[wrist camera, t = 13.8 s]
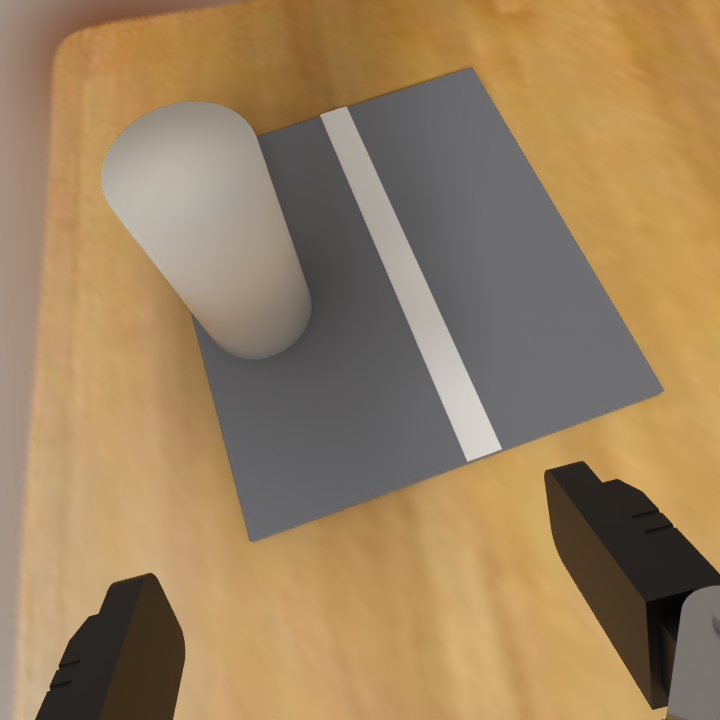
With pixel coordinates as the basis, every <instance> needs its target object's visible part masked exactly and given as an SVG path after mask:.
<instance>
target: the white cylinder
mask: <svg viewBox="0 0 720 720" xmlns="http://www.w3.org/2000/svg"><path fill="white" fill-rule="evenodd" d="M101 184H102V190H103V194H104V196H105V199H106V201H107V203H108V204H109V206H110V207H111V209H112V210H113V211H114V213H115V214H116V215H117V216H118V218H119V219H120V220H121V222H122V223H123V224H124V226H125V227H126V228H127V229H128V231H129V232H130V233H131V235H132V236H133V237H134V238H135V240H136V241H137V242H138V244H139V245H140V246H141V248H142V249H143V250H144V251H145V253H146V254H147V255H148V257H149V258H150V259H151V260H152V262H153V263H154V264H155V266H156V267H157V268H158V269H159V271H160V272H161V273H162V275H163V276H164V277H165V279H166V280H167V281H168V282H169V284H170V285H171V286H172V288H173V289H174V290H175V291H176V293H177V294H178V295H179V297H180V298H181V299H182V301H183V302H184V303H185V304H186V306H187V307H188V308H189V310H190V311H191V312H192V313H193V315H194V316H195V317H196V319H197V320H198V321H199V323H200V324H201V325H202V326H203V328H204V329H205V330H206V332H207V333H208V334H209V335H210V337H211V338H212V339H213V341H214V342H215V343H216V344H217V345H218V346H219V347H220V348H221V349H222V350H224V351H225V352H227V353H229V354H231V355H233V356H236V357H239V358H244V359H263V358H268V357H271V356H274V355H276V354H279V353H281V352H283V351H284V350H286V349H288V348H289V347H290V346H292V345H293V344H294V343H295V342H296V341H297V340H298V339H299V338H300V336H301V335H302V334H303V332H304V331H305V329H306V327H307V325H308V323H309V320H310V316H311V311H312V301H311V295H310V292H309V289H308V286H307V283H306V280H305V277H304V274H303V271H302V269H301V266H300V263H299V260H298V257H297V254H296V251H295V248H294V245H293V242H292V239H291V236H290V233H289V231H288V228H287V225H286V222H285V219H284V216H283V213H282V210H281V207H280V204H279V201H278V198H277V195H276V192H275V190H274V187H273V184H272V181H271V178H270V175H269V172H268V169H267V166H266V163H265V160H264V157H263V154H262V152H261V149H260V146H259V143H258V140H257V137H256V135H255V133H254V131H253V129H252V127H251V126H250V125H249V123H248V122H247V121H246V120H245V119H244V118H243V117H242V116H241V115H239V114H238V113H236V112H235V111H233V110H231V109H229V108H227V107H225V106H222V105H219V104H215V103H211V102H203V101H187V102H179V103H174V104H170V105H166V106H163V107H160V108H158V109H155V110H153V111H151V112H149V113H147V114H145V115H143V116H142V117H140V118H138V119H137V120H135V121H134V122H133V123H132V124H130V125H129V126H128V127H127V128H126V129H125V130H124V131H123V132H122V133H121V134H120V135H119V136H118V137H117V138H116V140H115V141H114V142H113V144H112V145H111V147H110V149H109V150H108V153H107V155H106V157H105V160H104V163H103V166H102V173H101Z"/></svg>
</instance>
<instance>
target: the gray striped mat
mask: <svg viewBox="0 0 720 720" xmlns="http://www.w3.org/2000/svg"><path fill="white" fill-rule="evenodd" d="M257 140H258V143H259V146H260V149H261V152H262V154H263V157H264V160H265V163H266V166H267V169H268V172H269V175H270V178H271V181H272V184H273V187H274V190H275V192H276V195H277V198H278V201H279V204H280V207H281V210H282V213H283V216H284V219H285V222H286V225H287V228H288V231H289V233H290V236H291V239H292V242H293V245H294V248H295V251H296V254H297V257H298V260H299V263H300V266H301V269H302V271H303V274H304V277H305V280H306V283H307V286H308V289H309V292H310V295H311V301H312V311H311V316H310V320H309V323H308V325H307V327H306V329H305V331H304V332H303V334H302V335H301V336H300V338H299V339H298V340H297V341H296V342H295V343H294V344H293V345H292V346H290V347H289V348H288V349H286V350H284V351H283V352H281V353H279V354H276V355H274V356H271V357H268V358H263V359H244V358H239V357H236V356H233V355H231V354H229V353H227V352H225V351H224V350H222V349H221V348H220V347H219V346H218V345H217V344H216V343H215V342H214V341H213V339H212V338H211V337H210V335H209V334H208V333H207V332H206V330H205V329H204V328H203V326H202V325H201V324H200V323H199V321H198V320H197V319H196V317H195V316H194V315H193V313H192V312H191V314H192V318H193V322H194V326H195V330H196V334H197V338H198V342H199V346H200V349H201V353H202V357H203V361H204V365H205V369H206V373H207V377H208V381H209V384H210V388H211V392H212V396H213V400H214V404H215V408H216V412H217V416H218V419H219V423H220V427H221V431H222V435H223V439H224V443H225V447H226V451H227V454H228V458H229V462H230V466H231V470H232V474H233V478H234V482H235V486H236V489H237V493H238V497H239V501H240V505H241V509H242V513H243V517H244V521H245V524H246V528H247V532H248V536H249V540H250V541H251V542H255V541H257V540H260V539H263V538H266V537H268V536H271V535H274V534H277V533H279V532H282V531H285V530H288V529H290V528H293V527H296V526H299V525H301V524H304V523H307V522H310V521H312V520H315V519H318V518H321V517H323V516H326V515H329V514H332V513H334V512H337V511H340V510H343V509H345V508H348V507H351V506H354V505H357V504H359V503H362V502H365V501H368V500H370V499H373V498H376V497H379V496H381V495H384V494H387V493H390V492H392V491H395V490H398V489H401V488H403V487H406V486H409V485H412V484H414V483H417V482H420V481H423V480H425V479H428V478H431V477H434V476H436V475H439V474H442V473H445V472H447V471H450V470H453V469H456V468H458V467H461V466H464V465H467V464H469V463H472V462H475V461H478V460H480V459H483V458H486V457H489V456H491V455H494V454H497V453H500V452H502V451H505V450H508V449H511V448H513V447H516V446H519V445H522V444H524V443H527V442H530V441H533V440H535V439H538V438H541V437H544V436H546V435H549V434H552V433H555V432H557V431H560V430H563V429H566V428H568V427H571V426H574V425H577V424H579V423H582V422H585V421H588V420H590V419H593V418H596V417H599V416H601V415H604V414H607V413H610V412H612V411H615V410H618V409H621V408H623V407H626V406H629V405H632V404H634V403H637V402H640V401H643V400H645V399H648V398H651V397H654V396H656V395H659V394H661V393H662V392H663V391H664V389H663V387H662V385H661V384H660V382H659V380H658V379H657V377H656V375H655V374H654V372H653V370H652V369H651V367H650V365H649V364H648V362H647V360H646V359H645V357H644V355H643V354H642V352H641V350H640V349H639V347H638V345H637V343H636V342H635V340H634V338H633V337H632V335H631V333H630V332H629V330H628V328H627V327H626V325H625V323H624V322H623V320H622V318H621V317H620V315H619V313H618V312H617V310H616V308H615V306H614V305H613V303H612V301H611V300H610V298H609V296H608V295H607V293H606V291H605V290H604V288H603V286H602V285H601V283H600V281H599V280H598V278H597V276H596V275H595V273H594V271H593V269H592V268H591V266H590V264H589V263H588V261H587V259H586V258H585V256H584V254H583V253H582V251H581V249H580V248H579V246H578V244H577V243H576V241H575V239H574V238H573V236H572V234H571V233H570V231H569V229H568V227H567V226H566V224H565V222H564V221H563V219H562V217H561V216H560V214H559V212H558V211H557V209H556V207H555V206H554V204H553V202H552V201H551V199H550V197H549V196H548V194H547V192H546V190H545V189H544V187H543V185H542V184H541V182H540V180H539V179H538V177H537V175H536V174H535V172H534V170H533V169H532V167H531V165H530V164H529V162H528V160H527V159H526V157H525V155H524V153H523V152H522V150H521V148H520V147H519V145H518V143H517V142H516V140H515V138H514V137H513V135H512V133H511V132H510V130H509V128H508V127H507V125H506V123H505V122H504V120H503V118H502V117H501V115H500V113H499V111H498V110H497V108H496V106H495V105H494V103H493V101H492V100H491V98H490V96H489V95H488V93H487V91H486V90H485V88H484V86H483V85H482V83H481V81H480V80H479V78H478V76H477V74H476V73H475V71H474V69H473V68H472V67H471V68H468V69H465V70H462V71H458V72H455V73H452V74H449V75H446V76H443V77H440V78H437V79H434V80H430V81H427V82H424V83H421V84H418V85H415V86H412V87H409V88H406V89H403V90H399V91H396V92H393V93H390V94H387V95H384V96H381V97H378V98H375V99H372V100H368V101H365V102H362V103H359V104H356V105H353V106H350V107H347V106H345V107H342V108H339V109H336V110H333V111H330V112H327V113H323V114H320V116H319V117H316V118H313V119H310V120H306V121H303V122H300V123H297V124H294V125H291V126H288V127H285V128H282V129H278V130H275V131H272V132H269V133H266V134H263V135H260V136H257Z"/></svg>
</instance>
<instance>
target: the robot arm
mask: <svg viewBox="0 0 720 720" xmlns="http://www.w3.org/2000/svg"><path fill="white" fill-rule="evenodd" d="M544 479H545V487H546V494H547V502H548V509H549V516H550V523H551V530H552V535H553V539H554V543H555V546H556V549H557V551H558V554H559V556H560V558H561V560H562V562H563V564H564V566H565V567H566V569H567V570H568V572H569V574H570V575H571V577H572V579H573V580H574V582H575V584H576V585H577V587H578V589H579V590H580V592H581V593H582V595H583V597H584V598H585V600H586V602H587V603H588V605H589V607H590V608H591V610H592V611H593V613H594V615H595V616H596V618H597V620H598V621H599V623H600V625H601V626H602V628H603V630H604V631H605V633H606V634H607V636H608V638H609V639H610V641H611V643H612V644H613V646H614V648H615V649H616V651H617V652H618V654H619V656H620V657H621V659H622V661H623V662H624V664H625V666H626V667H627V669H628V671H629V672H630V674H631V675H632V677H633V679H634V680H635V682H636V684H637V685H638V687H639V689H640V690H641V692H642V693H643V695H644V697H645V698H646V700H647V702H648V703H649V705H650V707H651V708H652V710H654V709H658V708H662V707H666V706H668V709H667V715H666V719H665V720H720V574H719V573H718V572H717V571H716V570H715V568H714V567H713V566H712V565H711V564H710V563H709V562H708V561H707V560H706V559H705V558H704V557H703V556H702V555H701V554H700V553H699V551H698V550H697V549H696V548H695V547H694V546H693V545H692V544H691V543H690V542H689V541H688V540H687V539H686V538H685V537H684V536H683V534H682V533H681V532H680V531H679V530H678V529H677V528H674V527H673V524H672V523H671V522H670V521H669V520H668V519H667V517H666V516H665V515H664V514H663V513H660V512H659V509H658V508H657V507H656V506H655V505H654V504H653V503H652V502H651V500H650V499H649V498H648V497H647V496H646V495H645V494H644V493H643V492H642V491H640V490H638V489H636V488H634V487H632V486H630V485H628V484H626V483H624V482H622V481H621V480H619V479H615V480H611V481H607V482H604V483H602V482H601V481H600V479H599V478H598V477H597V476H596V475H595V474H594V472H593V471H592V470H591V469H590V468H589V466H588V465H587V464H586V463H585V462H583V461H580V462H576V463H572V464H568V465H564V466H560V467H557V468H553V469H549V470H546V471H545V474H544ZM184 662H185V642H184V636H183V632H182V629H181V627H180V625H179V622H178V620H177V618H176V616H175V614H174V612H173V610H172V608H171V606H170V604H169V601H168V599H167V597H166V595H165V593H164V591H163V589H162V587H161V585H160V583H159V581H158V579H157V577H156V576H155V575H154V574H152V573H148V574H144V575H141V576H137V577H133V578H129V579H125V580H121V581H118V582H114V583H112V584H111V586H110V587H109V589H108V591H107V594H106V596H105V599H104V602H103V604H102V607H101V609H100V612H99V614H96V615H92V616H89V617H88V618H87V620H86V621H85V622H84V623H83V624H82V626H81V627H80V628H79V629H78V631H77V632H76V633H75V634H74V636H73V637H72V638H71V639H70V640H69V643H68V645H67V647H66V650H65V652H64V654H63V657H62V659H61V661H60V663H59V670H57V671H56V673H55V675H54V677H53V680H52V682H51V684H50V691H48V692H47V694H46V696H45V698H44V701H43V703H42V705H41V707H40V710H39V712H38V714H37V717H36V719H35V720H173V717H174V712H175V707H176V702H177V697H178V692H179V687H180V682H181V677H182V672H183V667H184ZM662 720H663V719H662Z"/></svg>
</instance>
